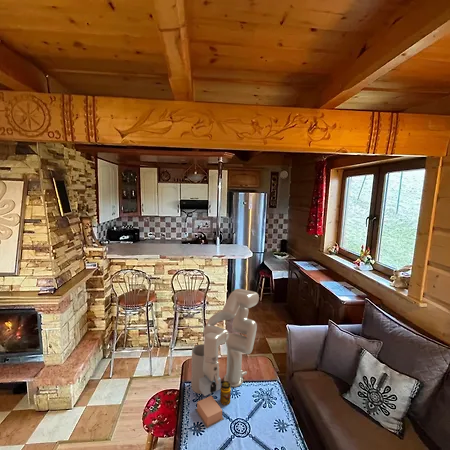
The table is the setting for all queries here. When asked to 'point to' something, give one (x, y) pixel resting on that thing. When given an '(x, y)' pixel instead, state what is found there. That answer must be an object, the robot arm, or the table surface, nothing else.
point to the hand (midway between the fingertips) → (210, 387)
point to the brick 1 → (207, 385)
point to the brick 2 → (209, 410)
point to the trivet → (204, 421)
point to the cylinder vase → (197, 367)
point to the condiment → (225, 393)
